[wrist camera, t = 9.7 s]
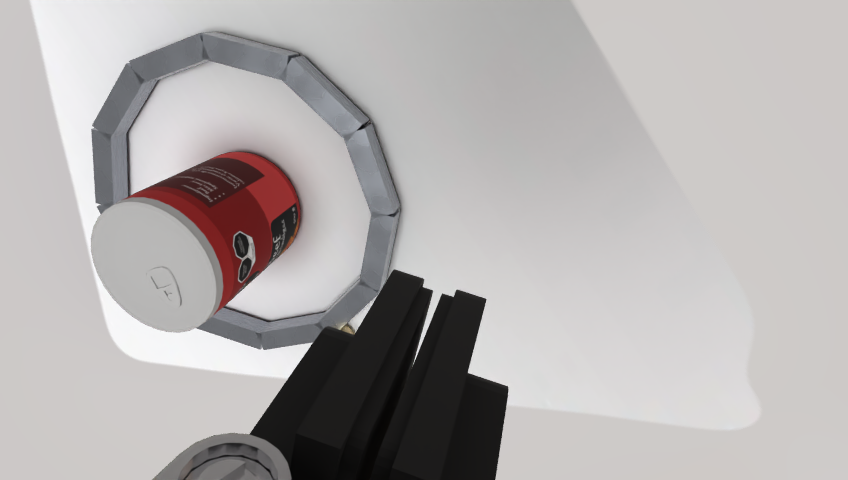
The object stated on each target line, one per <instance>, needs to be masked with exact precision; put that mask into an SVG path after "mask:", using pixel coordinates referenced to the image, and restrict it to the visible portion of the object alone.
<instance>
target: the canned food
mask: <svg viewBox="0 0 848 480" xmlns="http://www.w3.org/2000/svg"><path fill="white" fill-rule="evenodd" d="M299 222H300V206H299V201H298V197H297V195H296V192H295V189H294V187H293V186H292V184H291V182H290V181H289V179H288V178H287V177H286V175H285V174H284V173H283V172H282V171H281V170H280V169H279V168H278V167H277V166H276V165H275V164H273V163H272V162H270V161H268V160H267V159H265V158H263V157H261V156H258V155H256V154H251V153H246V152H229V153H225V154H221V155H219V156H216V157H214V158H212V159H210V160H208V161H205V162H203V163H201V164H199V165H196V166H194V167H192V168H190V169H188V170H185V171H183V172H181V173H179V174H177V175H174V176H172V177H170V178H168V179H165V180H163V181H161V182H159V183H157V184H154V185H152V186H150V187H148V188H146V189H143V190H141V191H139V192H137V193H135V194H133V195H131V196H129V197H127V198H125V199H123V200H121V201H119V202H117V203H115V204H114V205H112V206H111V207H110V208H108V209H106V210H105V211H104V212H103V213H102V214H101V215H100V216H99V217H98V219H97V221H96V223H95V225H94V227H93V231H92V236H91V252H92V257H93V262H94V265H95V268H96V271H97V273H98V276H99V278H100V279H101V281H102V283H103V285H104V287H105V288H106V290H107V291H108V292H109V294H110V295H111V296H112V298H113V299H114V300H115V301H116V302H117V303H118V304H119V305H120V306H121V307H122V308H123V309H124V310H125V311H126V312H127V313H129V314H130V315H131V316H132V317H134V318H135V319H137V320H139V321H140V322H142V323H143V324H145V325H148V326H150V327H152V328H155V329H158V330H162V331H166V332H185V331H190V330H192V329H194V328H197V327H199V326H200V325H201V324H203V323H205V322H206V321H207V320H208V319H210V318H211V317H212V316H213V315H214V314H216V313H217V312H218V311H219V310H220V309H222V308H223V307H224V306H225V305H226V304H227V303H228V302H229V301H231V300H232V299H233V298H234V297H235V296H236V295H237V294H238V293H239V292H240V291H241V290H243V289H244V288H245V287H246V286H247V285H248V284H249V283H250V282H251V281H252V280H254V279H255V278H256V277H257V276H258V275H259V274H260V273H261V272H262V271H263V270H265V269H266V268H267V267H268V266H269V265H270V264H271V263H272V262H273V261H274V260H275V259H277V258H278V257H279V256H280V255H281V254H282V253H283V252H284V251H285V250H286V249H288V247H289V246H290V245H291V243H292V242H293V240H294V238H295V235H296V233H297V230H298V227H299Z"/></svg>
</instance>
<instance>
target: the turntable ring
mask: <svg viewBox="0 0 848 480" xmlns="http://www.w3.org/2000/svg"><path fill="white" fill-rule="evenodd" d="M207 61H213V62H217V63H220V64H224V65H228V66H232V67H235V68H239V69H243V70H246V71H250V72H254V73H258V74H261V75H265V76H269V77H273V78H276V79H280V80H282V81H283V82H285V83H286V84H287V85H288V86H289V87H290V88H291V89H292V90H293V91H294V92H295V93H296V94H297V95H298V96H299V97H300V98H301V99H302V100H303V101H305V102H306V103H307V104H308V105H309V106H310V107H311V108H312V109H313V110H314V111H315V112H316V113H317V114H318V115H319V116H320V117H321V118H322V119H324V120H325V121H326V122H327V123H328V124H329V125H330V126H331V127H332V128H333V129H334V130H335V131H336V132H337V133H338V134H339V135H340V136H341V137H342V138H344V140H345V143H346V146H347V149H348V151H349V154H350V157H351V160H352V162H353V165H354V168H355V171H356V173H357V176H358V179H359V182H360V184H361V187H362V190H363V193H364V195H365V198H366V201H367V204H368V206H369V209H370V212H371V220H370V226H369V231H368V237H367V242H366V248H365V254H364V259H363V265H362V270H361V276H360V279H359V280H358V281H357V282H356V283H355V284H354V285H353V286H352V287H351V288H350V289H349V290H348V291H347V292H346V293H344V294H343V295H342V296H341V297H340V298H339V299H338V300H337V301H336V302H335V303H334V304H333V305H332V306H331V307H330V308H329V309H328V310H327V311H326V312H324V313H319V314H313V315H307V316H301V317H296V318H290V319H284V320H279V321H273V322H266V321H263V320H260V319H257V318H254V317H250V316H247V315H244V314H241V313H238V312H235V311H232V310H229V309H226V308H222V309H220V310H219V311H218V312H217V313H216V314H214V315H213V316H212V317H211V318H210V319H208V320H207V321H206V322H205V323H203V324H201V325H200V326H199V327H197V329H200V330H203V331H206V332H209V333H212V334H215V335H218V336H221V337H224V338H227V339H230V340H233V341H236V342H239V343H242V344H245V345H248V346H251V347H254V348H257V349H261V348H262V347H263V349H264V350H266V349H273V348H279V347H285V346H292V345H298V344H305V343H311V342H314V341H315V339H316V338H317V337H318V335H319V334H320V332H321V331H322V330H323V329H324V328H325V327H327V326H330V327H333V328H336V329H339V330H342V331H345V332H348V333H351V334H353V331H352V330H351V329H350V328H349V327H348V326H346V324H347V323H348V322H349V321H350V320H351V319H352V318H353V317H354V316H355V315H356V314H357V313H358V312H359V311H360V310H362V309H363V308H364V307H365V306H366V305H367V304H368V303H369V302H370V301H371V300H372V299H373V298H374V297H375V296H376V295H377V294H378V293H379V292H380V290H381V289H382V287H383V285H384V283H385V282H386V279H387V274H388V269H389V264H390V259H391V254H392V249H393V244H394V239H395V234H396V230H397V225H398V220H399V215H400V210H401V209H398V208H399V206H400V203H399V200H398V197H397V194H396V191H395V189H394V186H393V183H392V180H391V177H390V174H389V171H388V168H387V165H386V162H385V159H384V156H383V154H382V151H381V148H380V145H379V142H378V139H377V136H376V133H375V130H374V127H373V124H369V125H365V124H366V123H367V122H368V121H369V120H370V119H369V118H368V117H366V116H365V115H364V114H363V113H362V112H361V111H360V110H359V109H358V108H357V107H356V106H355V105H354V104H353V103H352V102H351V101H350V100H349V99H348V98H347V97H346V96H345V95H344V94H343V93H342V92H340V91H339V90H338V89H337V88H336V87H335V86H334V85H333V84H332V83H331V82H330V81H329V80H328V79H327V78H326V77H325V76H324V75H323V74H322V73H321V72H320V71H319V70H318V69H317V68H315V67H314V66H313V65H312V64H311V63H310V62H309V61H308V60H307V59H306V58H305V57H304V56H299V53H296V52H292V51H289V50H285V49H281V48H277V47H273V46H269V45H266V44H262V43H258V42H254V41H250V40H246V39H242V38H239V37H235V36H231V35H227V34H223V33H219V32H208V33H200V34H196V35H194V36H191V37H189V38H186V39H184V40H181V41H179V42H176V43H174V44H171V45H169V46H166V47H164V48H161V49H159V50H156V51H153V52H151V53H148V54H146V55H143V56H141V57H138V58H136V59H133V60H131V61H129V62H130V63H127V64H126V65H125V67H124V69H123V71H122V72H121V74H120V76H119V78H118V80H117V81H116V83H115V85H114V87H113V89H112V90H111V92H110V94H109V96H108V98H107V100H106V101H105V103H104V105H103V107H102V109H101V110H100V112H99V114H98V116H97V118H96V119H95V121H94V123H93V125H92V126H93V127H94V128H93V129H91V130H92V147H93V164H94V181H95V198H96V203H98V204H101V205H99V206H97V208H98V210H99V212H100V213H101V214H102V213H103V212H104V211H105V210H106V209H108V208H110V207H111V206H112V205H114V204H115V203H117V202H119V201H121V200H123V199H125V198H127V197H128V175H127V142H126V133H127V131H128V129H129V128H130V126H131V124H132V123H133V121H134V119H135V118H136V116H137V114H138V113H139V111H140V109H141V108H142V106H143V104H144V103H145V101H146V99H147V98H148V96H149V94H150V92H151V91H152V89H153V87H154V86H155V84H156V82H157V81H158V80H159V79H162V78H164V77H167V76H170V75H173V74H175V73H178V72H181V71H183V70H186V69H189V68H191V67H194V66H197V65H199V64H202V63H205V62H207ZM353 335H354V334H353Z"/></svg>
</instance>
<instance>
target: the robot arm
mask: <svg viewBox="0 0 848 480" xmlns="http://www.w3.org/2000/svg"><path fill="white" fill-rule="evenodd" d="M423 283H424V279H423V278H420V277H417V276H413V275H410V274H407V273H404V272H401V271H398V270H393V271H392V273H391V275H390V276H389V278H388V280H387V281H386V283H385V285H384V286H383V288H382V290H381V291H380V293H379V295H378V296H377V298H376V300H375V301H374V303H373V305H372V306H371V308H370V310H369V311H368V313H367V315H366V316H365V318H364V320H363V322H362V323H361V325H360V327H359V328H358V330H357V332H356V333H355V335H353V334H351V333H348V332H345V331H342V330H339V329H336V328H333V327H330V326H327V327H325V328H324V329H323V330H322V331H321V332H320V334H319V335H318V337H317V338H316V339H315V341H314V342H313V344H312V345H311V347H310V348H309V350H308V351H307V352H306V354H305V355H304V357H303V358H302V360H301V361H300V362H299V364H298V365H297V367H296V368H295V370H294V371H293V372H292V374H291V375H290V377H289V378H288V380H287V381H286V383H285V384H284V385H283V387H282V388H281V390H280V391H279V393H278V394H277V396H276V397H275V398H274V400H273V401H272V403H271V404H270V406H269V407H268V408H267V410H266V411H265V413H264V414H263V416H262V417H261V419H260V420H259V421H258V423H257V424H256V426H255V427H254V429H253V430H252V431H251V433H250V434H238V433H228V434H221V435H214V436H211V437H209V438H206V439H203V440H201V441H198V442H196V443H194V444H193V445H191V446H190V447H189V448H187V449H186V450H184V451H183V452H182V453H180V454H179V455H178V456H177V457H176V458H175V459H174V460H173V461H172V462H170V463H169V464H168V466H166V467H165V468H164V469H163V470H162V471H161V472H160V473H159V474H158V475H157V476H156V477H155V478H153V480H495V477H496V471H497V464H498V458H499V451H500V444H501V438H502V431H503V424H504V418H505V411H506V404H507V398H508V386H505V385H502V384H499V383H496V382H493V381H490V380H487V379H484V378H481V377H478V376H475V375H472V374H469V373H468V369H469V365H470V361H471V357H472V353H473V349H474V346H475V342H476V338H477V334H478V330H479V326H480V322H481V319H482V315H483V311H484V307H485V303H486V299H485V298H482V297H479V296H476V295H473V294H469V293H466V292H463V291H460V290H456V292H455V295H454V297H452V296H449V295H445V294H442V295H441V298H440V300H439V303H438V305H437V308H436V310H435V313H434V315H433V318H432V320H431V322H430V325H429V327H428V330H427V332H426V335H425V337H424V340H423V342H422V345H421V347H420V350H419V352H418V355H417V357H416V360H415V362H414V359H415V355H416V352H417V348H418V344H419V341H420V337H421V334H422V330H423V326H424V323H425V319H426V316H427V312H428V308H429V305H430V301H431V297H432V293H433V290H430V289H427V288H424V287H423ZM413 363H414V365H413ZM412 366H413V367H412Z"/></svg>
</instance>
